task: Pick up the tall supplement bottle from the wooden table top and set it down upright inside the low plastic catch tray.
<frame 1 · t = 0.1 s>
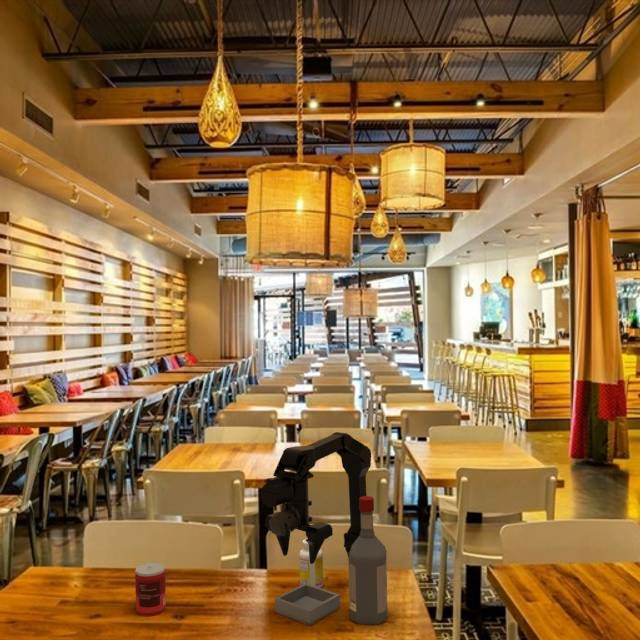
hand: (298, 559, 160), 15 cm above the table, tool pointing down, fingers open, 9 cm apart
supplement bottle: (311, 586, 179), on the table
catch tray: (307, 610, 164), on the table
liquor: (368, 617, 160), on the table
canned food: (151, 610, 166), on the table
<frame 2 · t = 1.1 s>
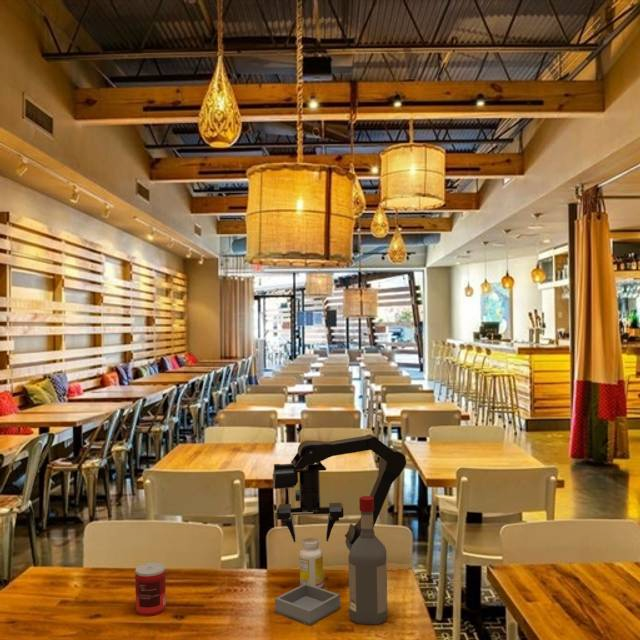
hand: (310, 541, 179), 13 cm above the table, tool pointing down, fingers open, 9 cm apart
nothing on the table moved.
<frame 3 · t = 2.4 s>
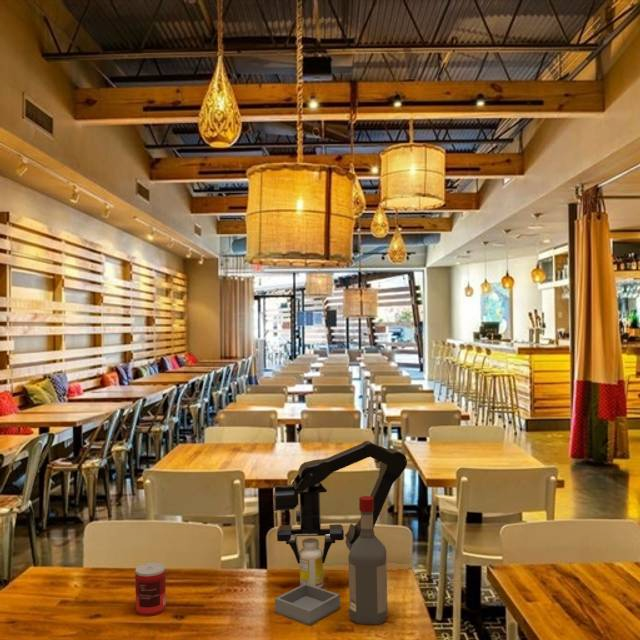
hand: (311, 562, 179), 7 cm above the table, tool pointing down, fingers closed on supplement bottle, 7 cm apart
supplement bottle: (311, 586, 179), on the table, touching gripper
everything else where it was.
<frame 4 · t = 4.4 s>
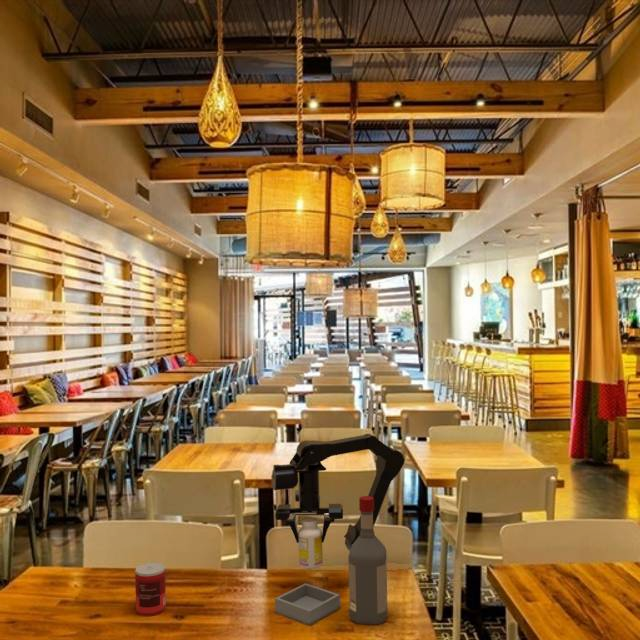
hand: (310, 542, 177), 13 cm above the table, tool pointing down, fingers closed on supplement bottle, 7 cm apart
supplement bottle: (310, 566, 177), point 6 cm above the table, touching gripper
everything else where it was.
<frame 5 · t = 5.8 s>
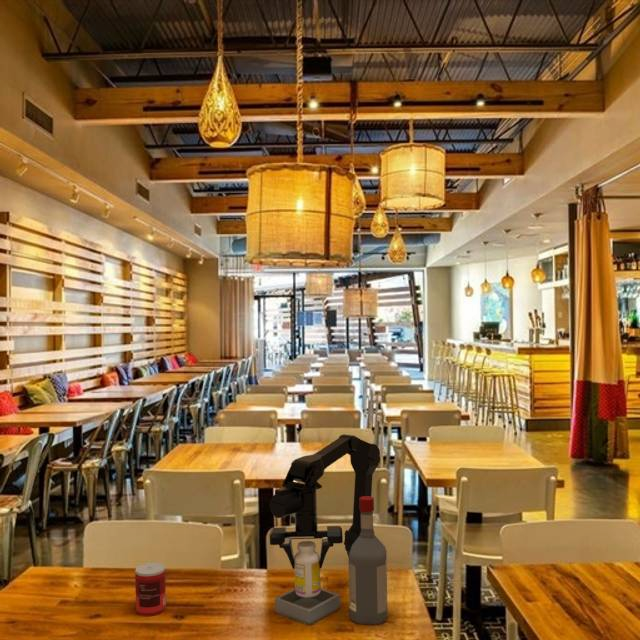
hand: (307, 568, 164), 11 cm above the table, tool pointing down, fingers closed on supplement bottle, 7 cm apart
supplement bottle: (307, 593, 164), point 4 cm above the table, touching gripper
everything else where it was.
when the fingers open (8 cm above the table, at t = 6.7 s): supplement bottle drops 1 cm, resting on catch tray.
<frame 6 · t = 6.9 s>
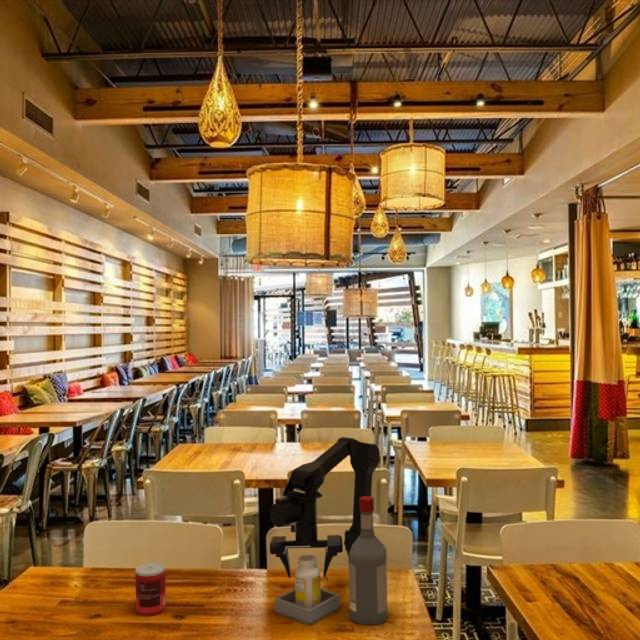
hand: (307, 577, 164), 8 cm above the table, tool pointing down, fingers open, 9 cm apart
supplement bottle: (308, 608, 164), resting on catch tray
everything else where it was.
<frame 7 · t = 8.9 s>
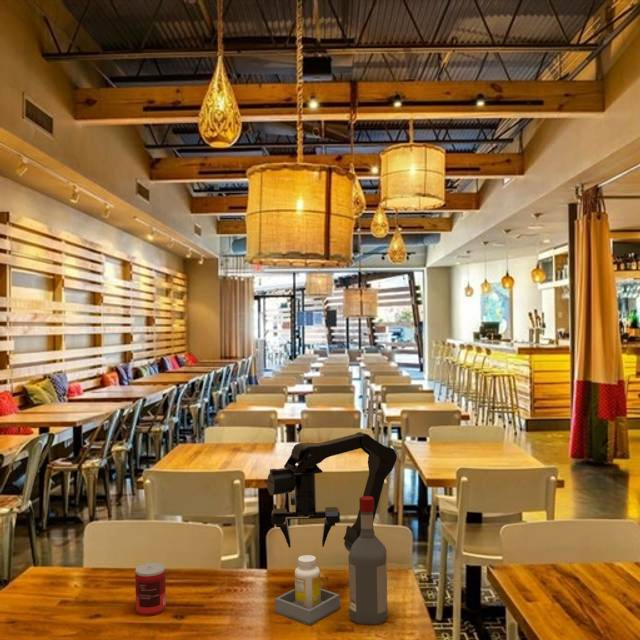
hand: (306, 546, 174), 13 cm above the table, tool pointing down, fingers open, 9 cm apart
nothing on the table moved.
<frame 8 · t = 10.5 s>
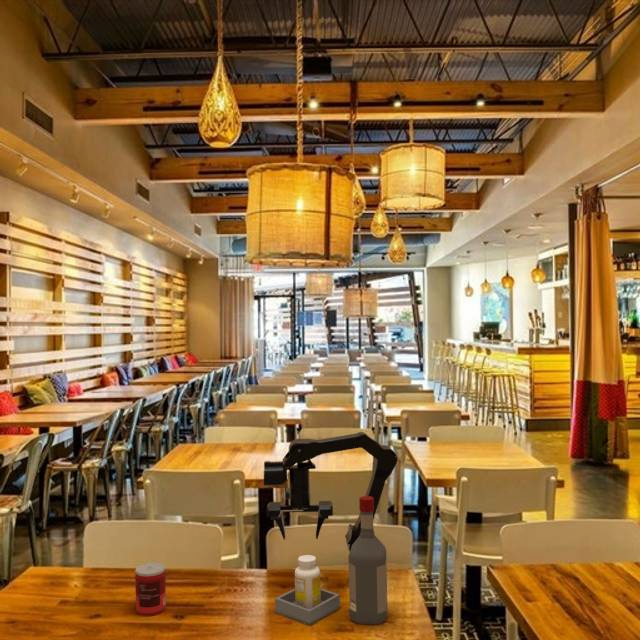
hand: (300, 538, 180), 13 cm above the table, tool pointing down, fingers open, 9 cm apart
nothing on the table moved.
at the end: supplement bottle 0.2 cm off-centre on the catch tray, point 0.4 cm above the catch tray's base; supplement bottle tilted 0°; the gripper is holding nothing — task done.
